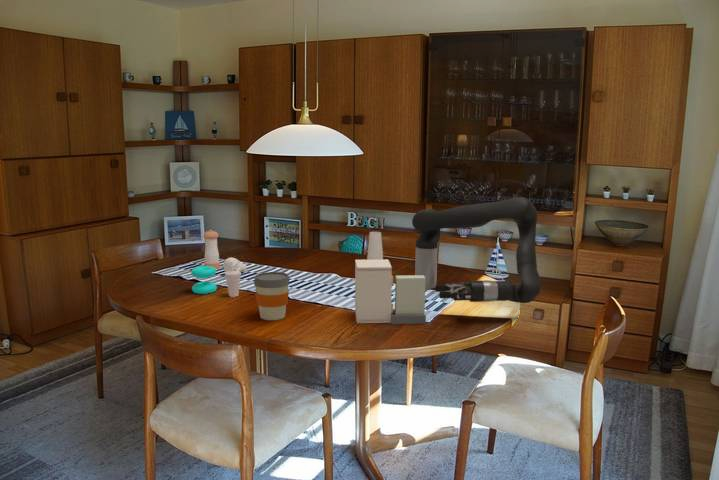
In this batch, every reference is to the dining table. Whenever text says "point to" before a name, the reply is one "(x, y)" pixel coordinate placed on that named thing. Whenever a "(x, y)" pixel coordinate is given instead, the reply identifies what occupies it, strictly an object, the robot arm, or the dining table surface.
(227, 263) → the white lumpy piece
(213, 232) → the salt shaker
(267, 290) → the reusable coffee cup
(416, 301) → the door panel
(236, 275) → the smoothie
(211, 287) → the donuts
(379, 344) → the dining table surface
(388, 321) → the hinge cabinet
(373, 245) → the champagne flute
